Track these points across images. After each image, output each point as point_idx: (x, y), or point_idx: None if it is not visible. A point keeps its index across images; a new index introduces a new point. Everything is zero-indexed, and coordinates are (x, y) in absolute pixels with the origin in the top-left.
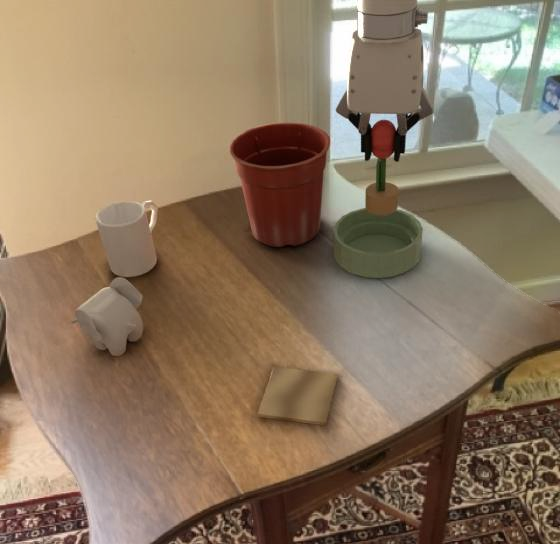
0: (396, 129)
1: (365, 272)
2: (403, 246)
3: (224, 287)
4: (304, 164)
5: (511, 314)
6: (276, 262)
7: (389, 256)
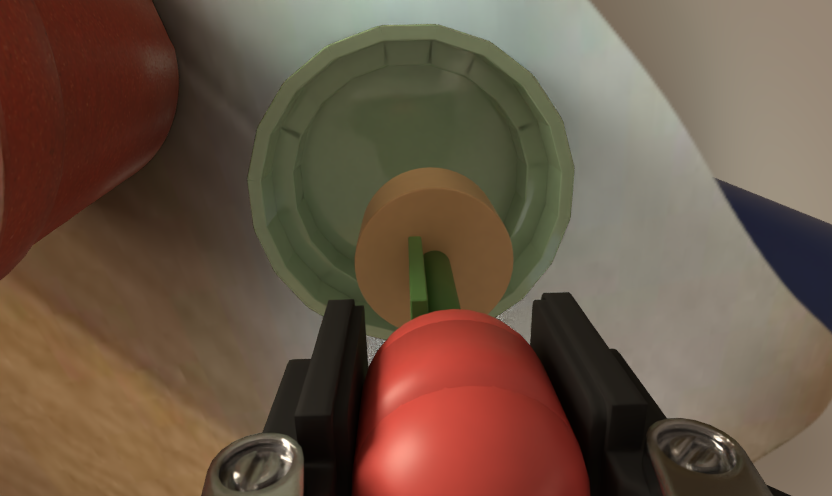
0: (590, 442)
1: None
2: (491, 129)
3: (28, 386)
4: None
5: (758, 360)
6: (113, 258)
7: None
